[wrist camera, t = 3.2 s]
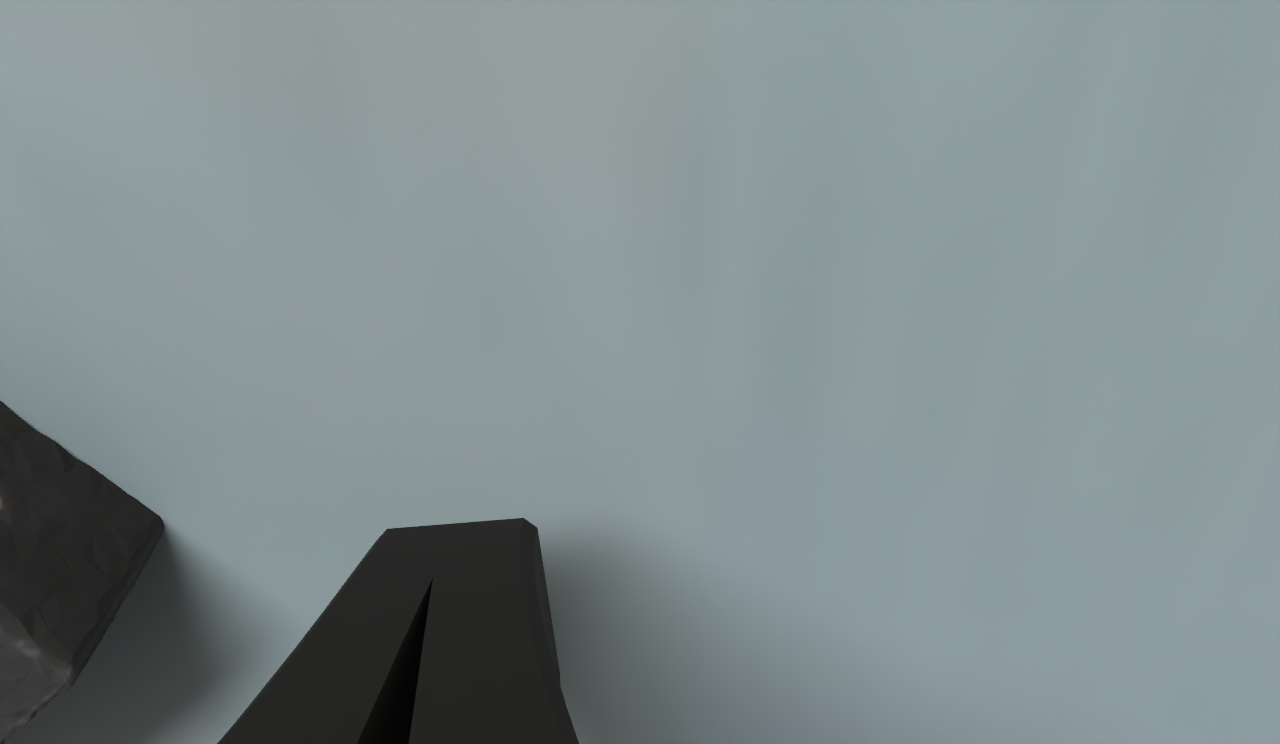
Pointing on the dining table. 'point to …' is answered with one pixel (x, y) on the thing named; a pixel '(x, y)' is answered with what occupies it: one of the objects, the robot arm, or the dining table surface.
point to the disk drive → (58, 565)
